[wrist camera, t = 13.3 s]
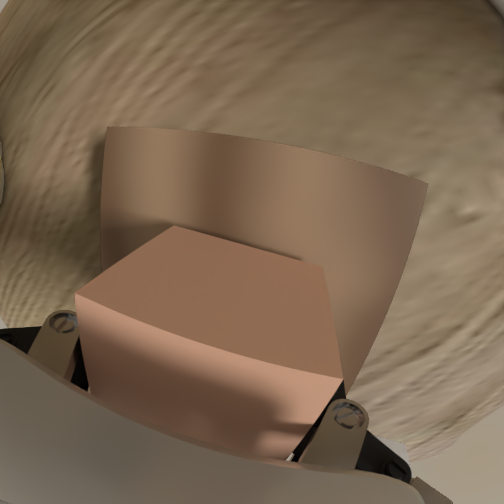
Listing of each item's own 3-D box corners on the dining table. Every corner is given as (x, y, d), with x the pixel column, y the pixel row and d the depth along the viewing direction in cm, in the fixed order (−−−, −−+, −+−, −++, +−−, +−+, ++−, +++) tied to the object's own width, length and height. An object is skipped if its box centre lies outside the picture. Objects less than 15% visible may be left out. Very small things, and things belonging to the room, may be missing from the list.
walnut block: (390, 174, 14) (428, 183, 10) (326, 368, 19) (331, 420, 14) (155, 131, 15) (107, 126, 11) (144, 325, 20) (112, 365, 16)
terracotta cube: (322, 266, 11) (343, 379, 5) (278, 376, 13) (263, 485, 7) (173, 225, 11) (74, 292, 5) (160, 341, 13) (101, 430, 8)
